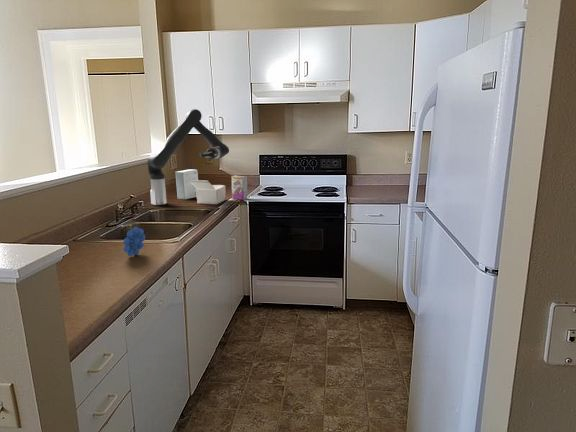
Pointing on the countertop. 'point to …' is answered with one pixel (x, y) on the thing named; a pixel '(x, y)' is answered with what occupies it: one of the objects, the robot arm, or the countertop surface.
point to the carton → (211, 195)
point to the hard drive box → (186, 183)
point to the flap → (201, 184)
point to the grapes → (134, 241)
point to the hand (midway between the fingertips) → (203, 155)
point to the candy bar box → (239, 187)
